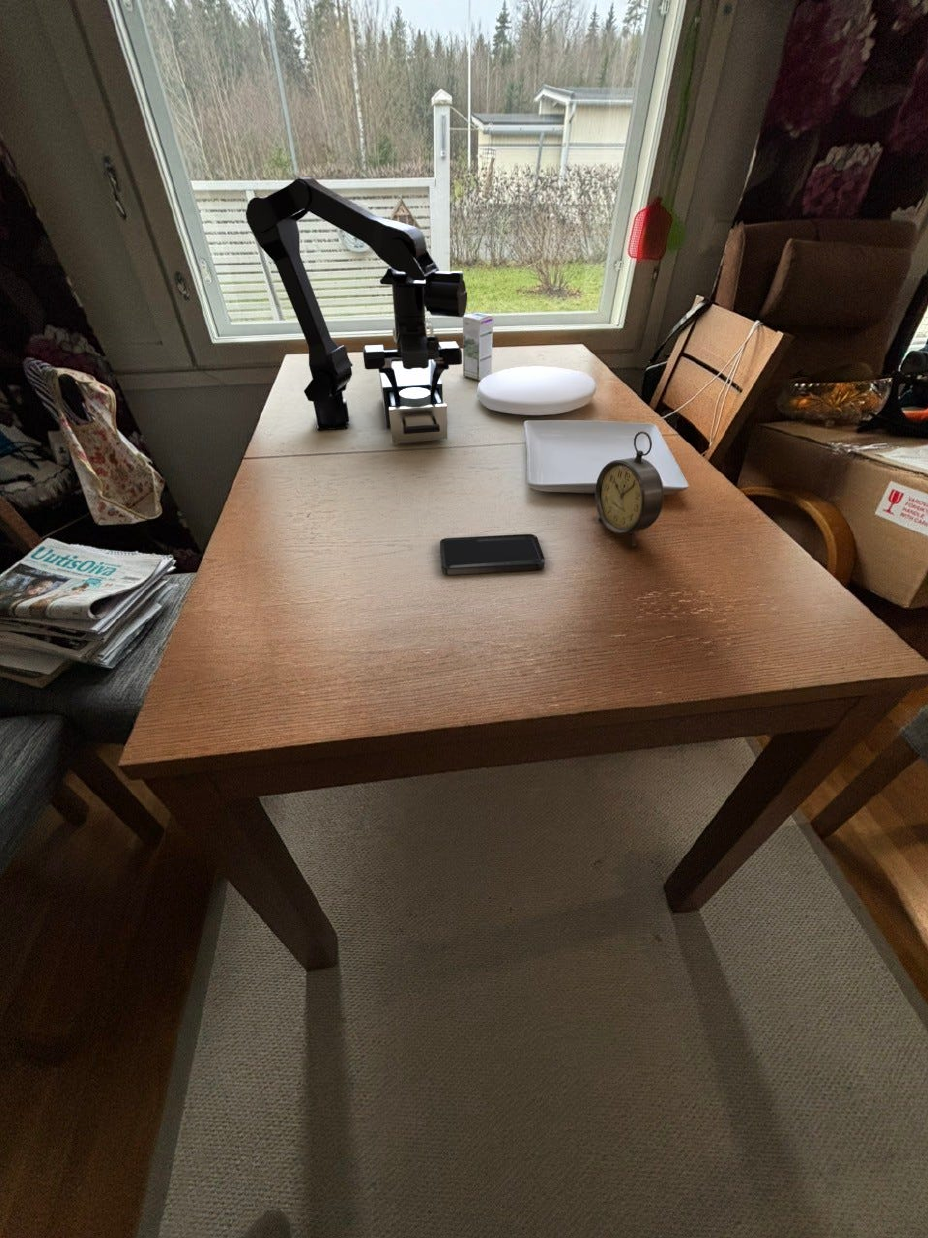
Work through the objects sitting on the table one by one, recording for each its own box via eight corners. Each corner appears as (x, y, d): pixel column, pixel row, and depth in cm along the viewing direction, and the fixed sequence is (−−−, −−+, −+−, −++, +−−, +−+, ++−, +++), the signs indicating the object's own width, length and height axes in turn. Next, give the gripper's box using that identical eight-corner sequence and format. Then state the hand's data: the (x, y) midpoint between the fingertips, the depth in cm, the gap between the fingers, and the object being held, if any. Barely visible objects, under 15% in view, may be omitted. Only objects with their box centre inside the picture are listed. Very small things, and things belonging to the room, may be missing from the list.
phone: (546, 563, 72) (442, 568, 71) (545, 569, 73) (442, 575, 72) (535, 532, 78) (439, 537, 77) (535, 539, 79) (439, 543, 78)
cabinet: (443, 424, 112) (442, 383, 106) (386, 428, 110) (382, 387, 104) (433, 397, 124) (432, 359, 118) (382, 400, 122) (378, 362, 116)
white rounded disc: (471, 399, 110) (480, 362, 129) (474, 428, 114) (482, 389, 134) (603, 389, 106) (592, 353, 125) (600, 420, 110) (590, 380, 130)
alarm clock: (587, 518, 83) (606, 421, 72) (613, 511, 85) (636, 415, 74) (628, 554, 76) (657, 451, 65) (657, 545, 78) (689, 444, 67)
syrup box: (492, 375, 136) (494, 314, 126) (478, 381, 132) (479, 318, 123) (476, 371, 138) (477, 310, 129) (462, 376, 135) (461, 315, 125)
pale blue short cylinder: (401, 412, 101) (400, 399, 99) (398, 401, 106) (397, 388, 104) (433, 410, 102) (432, 397, 100) (429, 399, 106) (428, 386, 105)
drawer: (451, 449, 100) (450, 415, 96) (394, 453, 99) (390, 419, 94) (437, 411, 115) (436, 379, 110) (387, 414, 114) (384, 382, 109)
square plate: (521, 436, 107) (523, 417, 105) (651, 439, 106) (656, 421, 103) (526, 500, 87) (528, 480, 85) (685, 505, 86) (692, 485, 84)
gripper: (359, 326, 85) (371, 418, 96) (467, 322, 88) (466, 412, 98) (357, 311, 93) (368, 398, 104) (456, 307, 96) (457, 392, 106)
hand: (415, 400), depth 103 cm, fingers closed on pale blue short cylinder, 6 cm apart
